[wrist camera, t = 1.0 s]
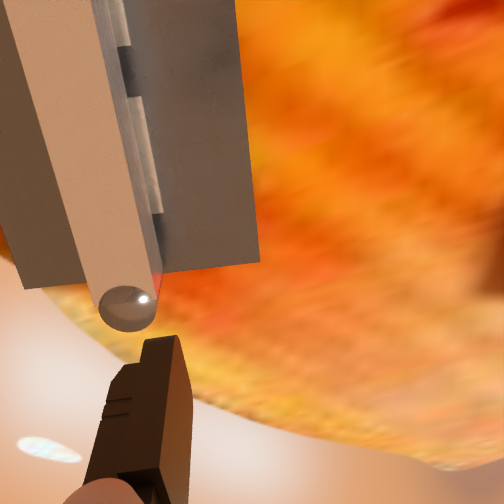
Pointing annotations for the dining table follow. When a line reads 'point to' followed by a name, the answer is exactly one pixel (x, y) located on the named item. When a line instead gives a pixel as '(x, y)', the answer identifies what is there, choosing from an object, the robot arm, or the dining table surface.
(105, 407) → the robot arm
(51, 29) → the swing bar
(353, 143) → the dining table surface
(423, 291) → the dining table surface
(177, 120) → the label panel
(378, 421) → the dining table surface
